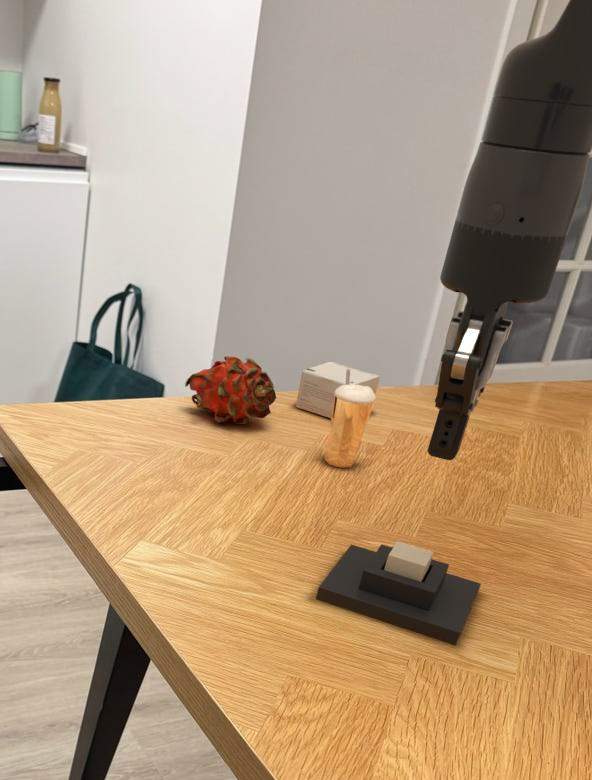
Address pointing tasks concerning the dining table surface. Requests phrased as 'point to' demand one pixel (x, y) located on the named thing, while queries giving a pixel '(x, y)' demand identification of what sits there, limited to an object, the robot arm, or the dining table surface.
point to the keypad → (400, 594)
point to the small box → (329, 386)
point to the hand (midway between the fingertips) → (442, 455)
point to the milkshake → (348, 422)
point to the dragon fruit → (233, 390)
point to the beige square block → (408, 561)
